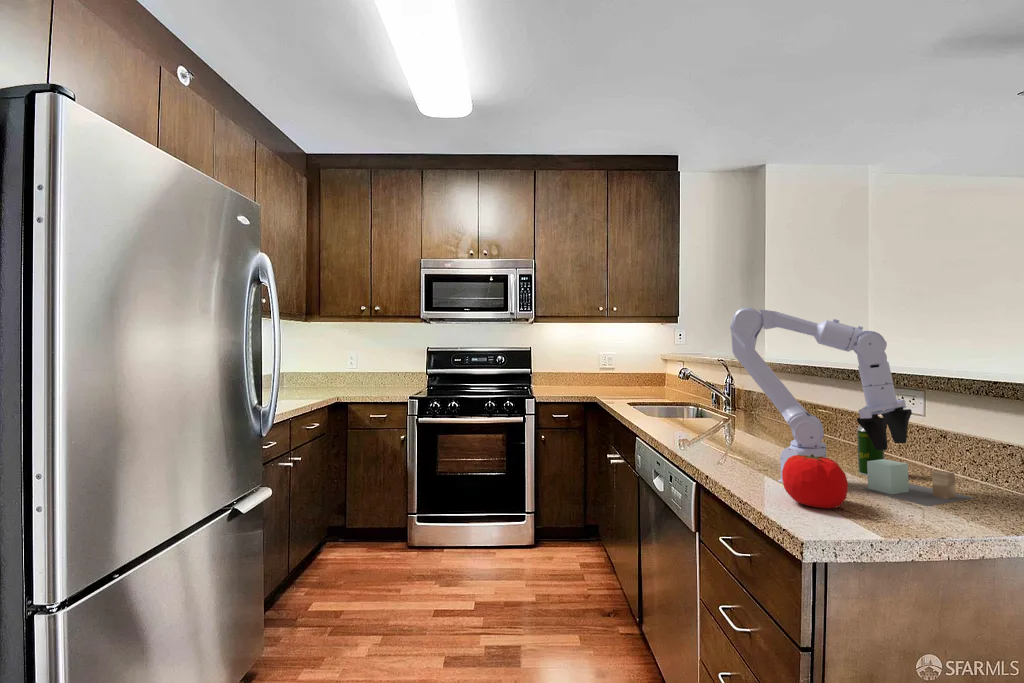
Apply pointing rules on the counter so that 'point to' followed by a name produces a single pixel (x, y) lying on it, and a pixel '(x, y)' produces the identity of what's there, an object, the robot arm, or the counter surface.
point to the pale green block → (888, 476)
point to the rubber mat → (921, 496)
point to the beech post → (943, 484)
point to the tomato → (815, 481)
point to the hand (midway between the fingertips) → (891, 446)
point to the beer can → (866, 451)
